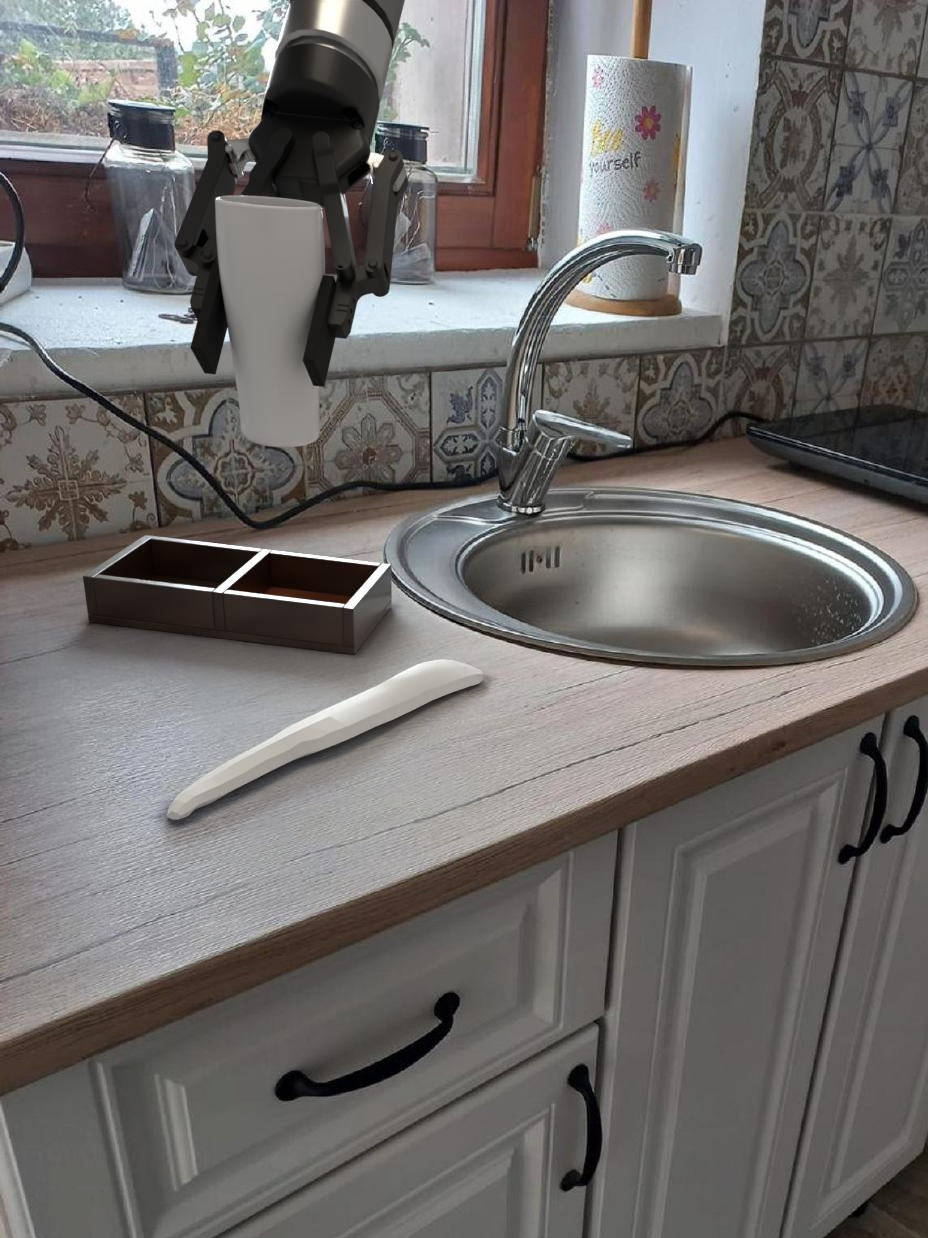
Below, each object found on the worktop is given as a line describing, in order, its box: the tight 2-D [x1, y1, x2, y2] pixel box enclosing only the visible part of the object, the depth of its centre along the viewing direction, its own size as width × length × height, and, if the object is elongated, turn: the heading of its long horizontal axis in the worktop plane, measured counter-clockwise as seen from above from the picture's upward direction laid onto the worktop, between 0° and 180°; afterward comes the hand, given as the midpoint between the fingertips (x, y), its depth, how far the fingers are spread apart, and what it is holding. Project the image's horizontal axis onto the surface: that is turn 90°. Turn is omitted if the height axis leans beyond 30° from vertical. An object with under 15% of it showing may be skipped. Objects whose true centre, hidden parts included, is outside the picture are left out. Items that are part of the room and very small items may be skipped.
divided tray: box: [82, 534, 393, 655], centre depth 96 cm, size 20×11×4 cm, turn 84°
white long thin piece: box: [166, 658, 484, 821], centre depth 80 cm, size 28×4×2 cm, turn 149°
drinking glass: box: [215, 194, 326, 448], centre depth 83 cm, size 7×7×15 cm
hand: (258, 366), depth 81 cm, fingers closed on drinking glass, 7 cm apart
